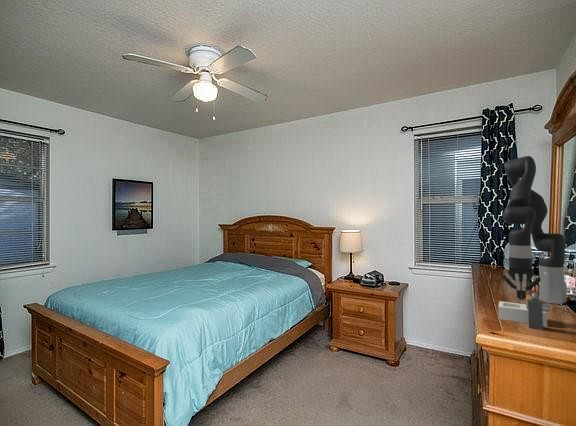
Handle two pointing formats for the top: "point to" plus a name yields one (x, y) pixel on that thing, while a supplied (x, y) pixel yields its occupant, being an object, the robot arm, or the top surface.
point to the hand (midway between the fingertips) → (521, 299)
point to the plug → (535, 312)
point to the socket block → (516, 312)
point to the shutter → (544, 307)
